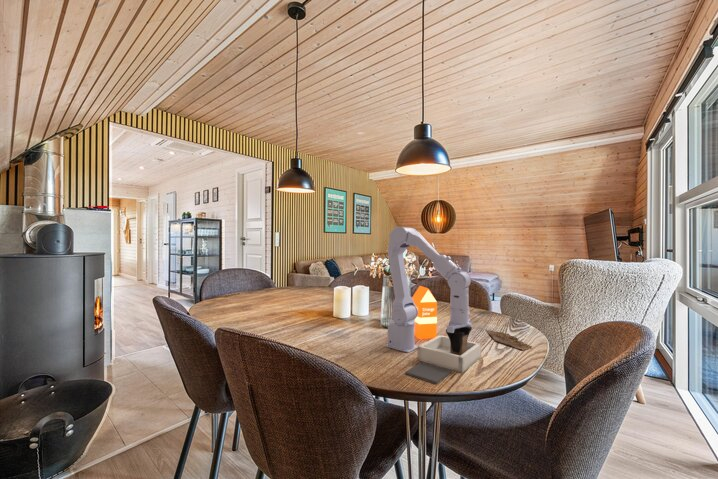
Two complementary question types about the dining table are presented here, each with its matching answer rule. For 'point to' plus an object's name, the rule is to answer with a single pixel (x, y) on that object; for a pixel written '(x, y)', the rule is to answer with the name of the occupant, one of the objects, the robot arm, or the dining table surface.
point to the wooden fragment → (508, 340)
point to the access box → (448, 354)
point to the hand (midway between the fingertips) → (458, 349)
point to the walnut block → (463, 346)
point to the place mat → (429, 372)
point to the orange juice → (425, 314)
